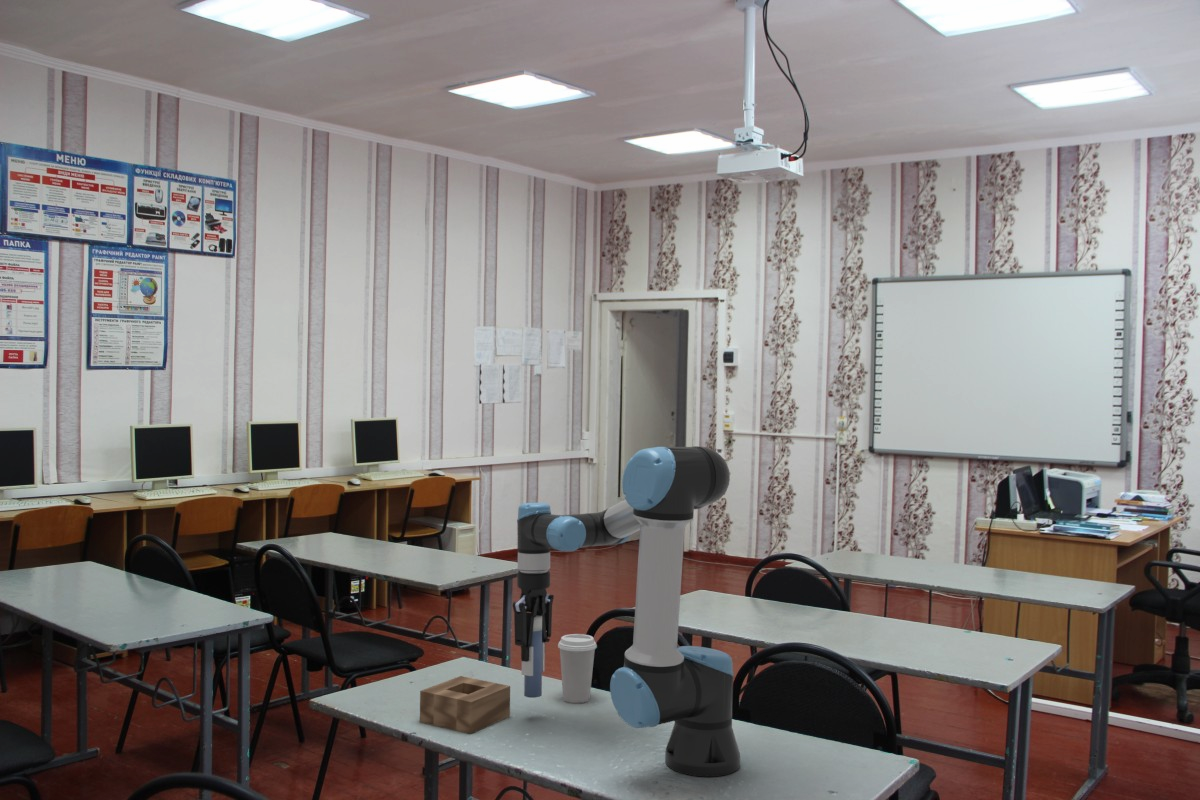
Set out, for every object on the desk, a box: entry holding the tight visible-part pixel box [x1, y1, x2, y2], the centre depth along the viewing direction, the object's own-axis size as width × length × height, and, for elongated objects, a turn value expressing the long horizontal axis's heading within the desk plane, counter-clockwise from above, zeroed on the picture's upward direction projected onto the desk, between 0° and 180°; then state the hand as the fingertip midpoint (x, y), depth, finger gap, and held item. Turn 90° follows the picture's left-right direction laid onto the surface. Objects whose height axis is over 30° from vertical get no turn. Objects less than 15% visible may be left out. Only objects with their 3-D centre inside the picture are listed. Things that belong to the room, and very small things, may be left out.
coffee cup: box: [557, 633, 598, 704], centre depth 244 cm, size 10×10×15 cm
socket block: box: [419, 675, 511, 735], centre depth 228 cm, size 14×14×7 cm
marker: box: [523, 615, 543, 699], centre depth 229 cm, size 4×4×18 cm
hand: (533, 672), depth 229 cm, fingers closed on marker, 4 cm apart
